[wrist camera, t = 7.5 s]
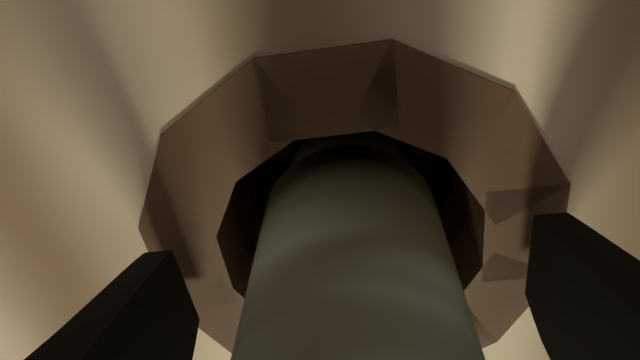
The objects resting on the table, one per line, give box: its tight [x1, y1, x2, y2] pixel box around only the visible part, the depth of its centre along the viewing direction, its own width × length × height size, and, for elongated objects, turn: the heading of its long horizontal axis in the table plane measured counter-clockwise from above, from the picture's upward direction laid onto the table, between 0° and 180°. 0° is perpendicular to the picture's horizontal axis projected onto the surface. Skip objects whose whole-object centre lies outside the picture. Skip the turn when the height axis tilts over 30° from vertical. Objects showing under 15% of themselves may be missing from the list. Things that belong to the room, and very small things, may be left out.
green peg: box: [231, 131, 485, 360], centre depth 9 cm, size 4×4×8 cm
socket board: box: [0, 0, 640, 360], centre depth 11 cm, size 20×12×3 cm, turn 98°
